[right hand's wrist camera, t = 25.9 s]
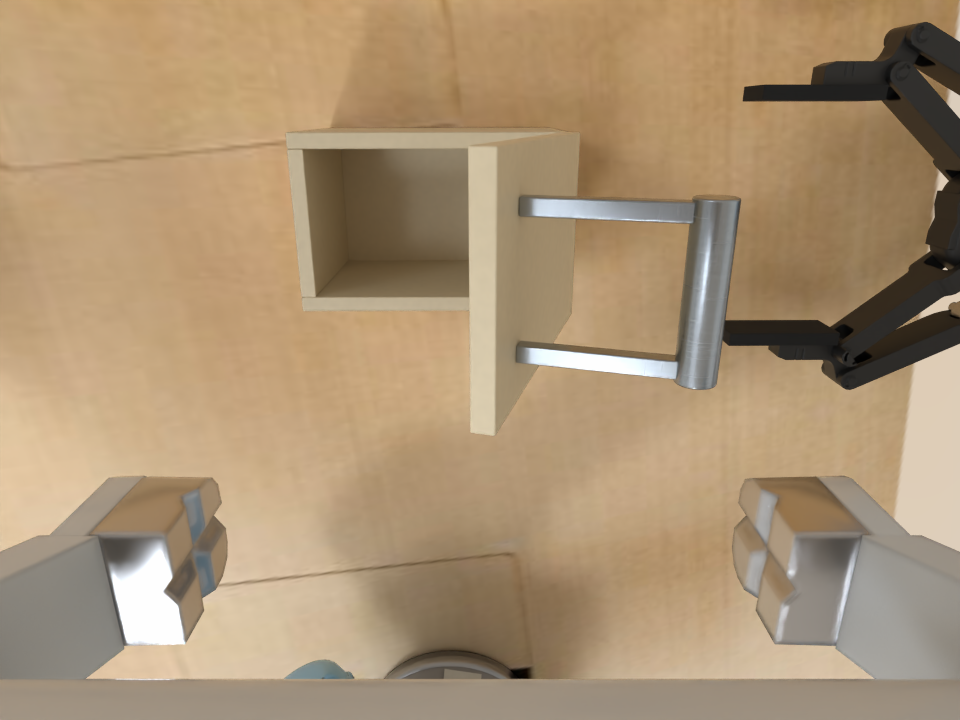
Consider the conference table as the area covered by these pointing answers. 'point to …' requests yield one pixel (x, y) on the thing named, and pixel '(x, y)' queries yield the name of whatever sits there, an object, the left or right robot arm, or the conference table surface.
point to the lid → (549, 273)
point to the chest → (385, 215)
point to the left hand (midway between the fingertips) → (735, 220)
